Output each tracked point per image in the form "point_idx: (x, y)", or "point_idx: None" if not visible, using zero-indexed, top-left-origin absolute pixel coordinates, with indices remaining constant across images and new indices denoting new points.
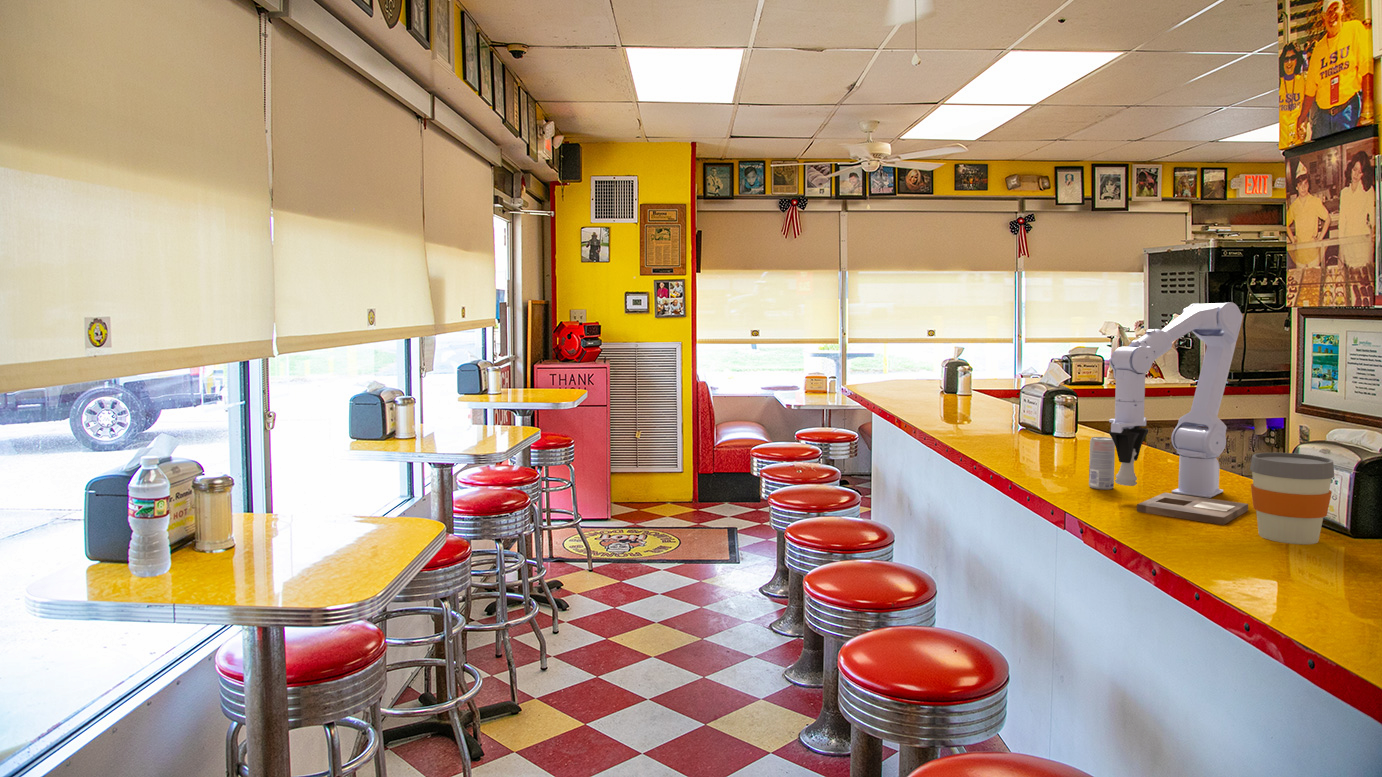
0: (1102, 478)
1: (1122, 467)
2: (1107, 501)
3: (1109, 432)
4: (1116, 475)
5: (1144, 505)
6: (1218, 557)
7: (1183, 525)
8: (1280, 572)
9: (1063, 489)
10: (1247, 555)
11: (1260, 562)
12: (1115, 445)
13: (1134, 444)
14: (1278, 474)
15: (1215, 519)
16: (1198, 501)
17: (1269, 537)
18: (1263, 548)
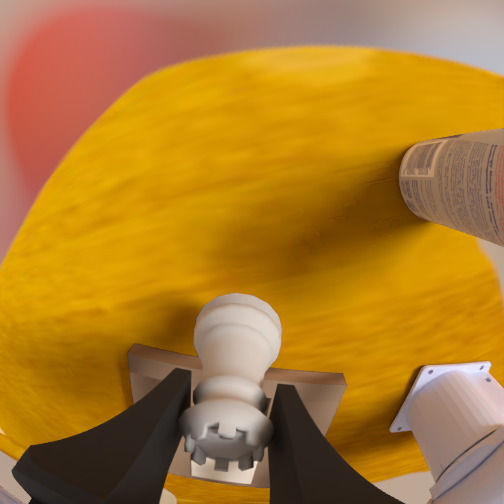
0: (417, 192)
1: (206, 359)
2: (209, 251)
3: (23, 457)
4: (213, 313)
5: (129, 368)
6: (12, 416)
7: (95, 413)
8: (23, 445)
9: (325, 72)
10: (39, 441)
11: (31, 443)
12: (112, 418)
13: (276, 485)
14: None
15: None
16: (267, 448)
17: None
18: None
